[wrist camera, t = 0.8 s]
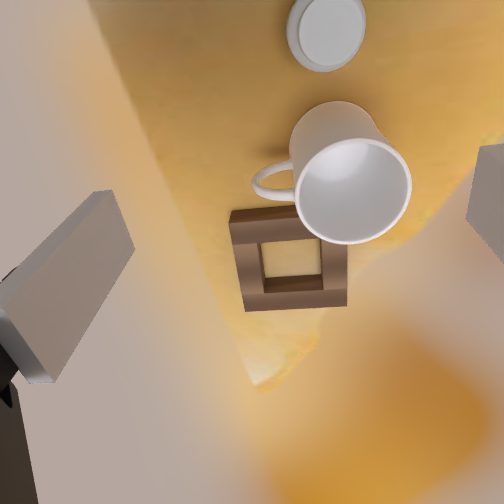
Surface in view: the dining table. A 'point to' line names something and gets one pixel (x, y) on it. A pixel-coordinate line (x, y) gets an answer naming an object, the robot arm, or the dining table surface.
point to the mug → (342, 175)
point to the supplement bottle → (325, 32)
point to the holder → (284, 288)
